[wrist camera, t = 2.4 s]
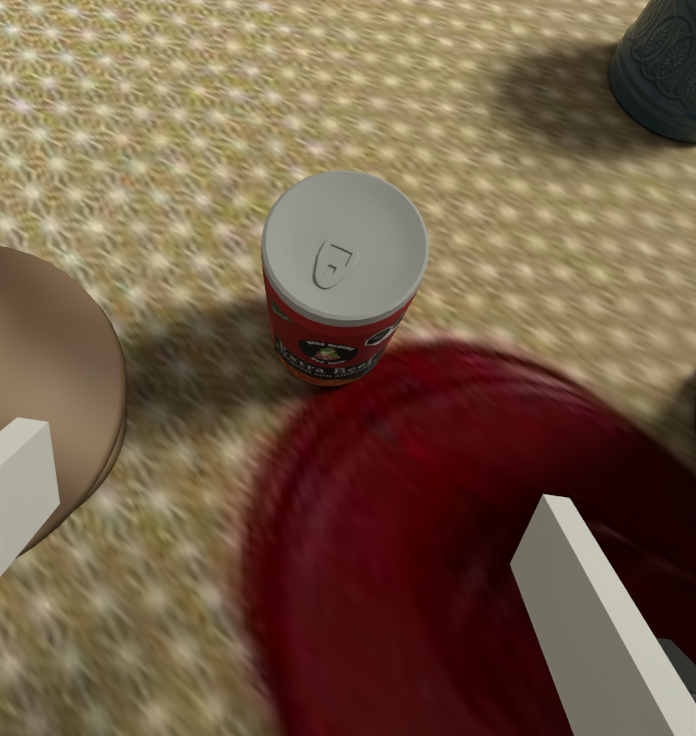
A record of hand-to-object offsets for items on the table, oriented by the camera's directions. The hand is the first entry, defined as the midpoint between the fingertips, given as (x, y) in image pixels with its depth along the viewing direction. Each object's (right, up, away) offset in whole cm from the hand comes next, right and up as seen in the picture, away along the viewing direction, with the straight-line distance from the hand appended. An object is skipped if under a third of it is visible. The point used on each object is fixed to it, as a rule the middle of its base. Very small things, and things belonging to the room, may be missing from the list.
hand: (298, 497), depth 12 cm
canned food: (0, +6, +18) cm, 19 cm away
